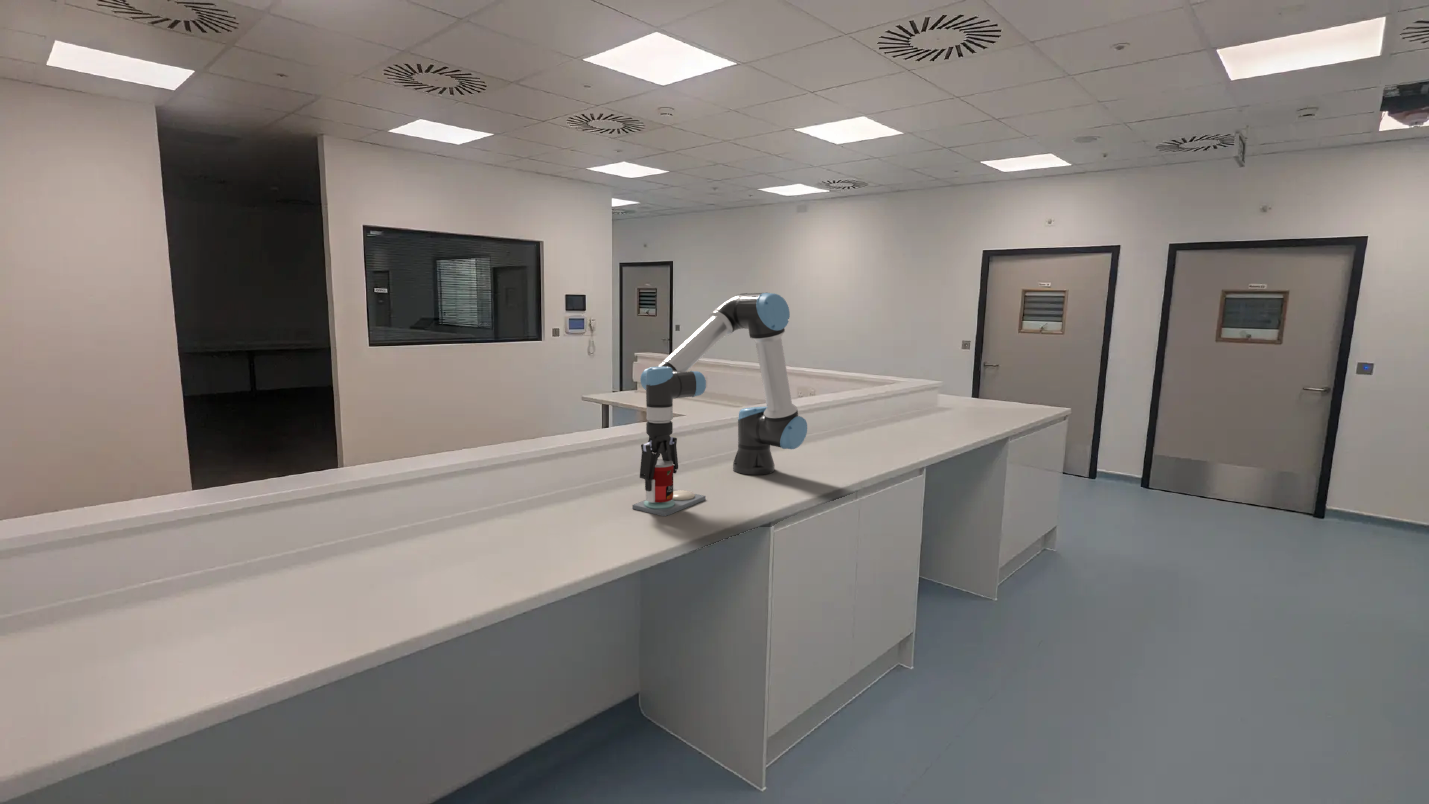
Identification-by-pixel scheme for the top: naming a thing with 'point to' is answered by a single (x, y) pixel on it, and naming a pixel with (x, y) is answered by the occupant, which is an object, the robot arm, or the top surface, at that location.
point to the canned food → (663, 481)
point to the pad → (659, 504)
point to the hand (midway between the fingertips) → (659, 497)
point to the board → (681, 502)
